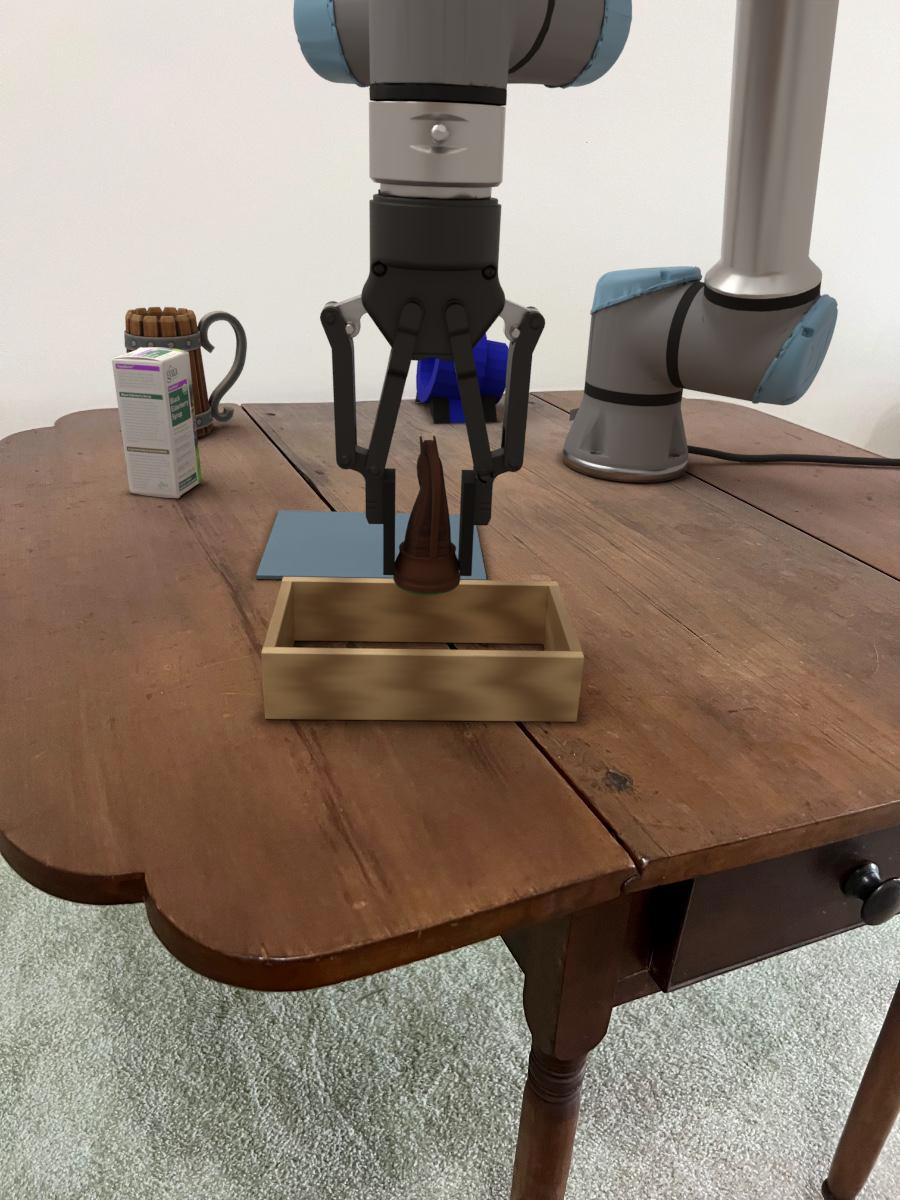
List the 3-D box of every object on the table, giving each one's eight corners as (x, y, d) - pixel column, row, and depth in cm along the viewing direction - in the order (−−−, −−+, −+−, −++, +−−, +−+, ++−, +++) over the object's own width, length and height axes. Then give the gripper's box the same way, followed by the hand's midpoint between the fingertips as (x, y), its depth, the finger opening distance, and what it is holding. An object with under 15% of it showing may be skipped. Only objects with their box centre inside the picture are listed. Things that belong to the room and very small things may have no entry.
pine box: (551, 639, 72) (557, 581, 69) (576, 722, 61) (584, 656, 59) (285, 635, 70) (282, 576, 68) (264, 719, 60) (260, 652, 58)
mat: (474, 518, 95) (474, 514, 95) (486, 583, 80) (486, 579, 80) (278, 513, 94) (278, 510, 93) (256, 579, 79) (255, 575, 79)
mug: (137, 446, 112) (123, 320, 106) (121, 425, 121) (108, 306, 114) (261, 435, 119) (255, 315, 112) (238, 415, 127) (232, 302, 121)
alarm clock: (410, 402, 138) (413, 298, 131) (489, 400, 141) (495, 298, 134) (428, 423, 127) (432, 311, 121) (513, 421, 130) (521, 312, 124)
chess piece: (452, 565, 65) (457, 428, 61) (468, 596, 61) (475, 451, 57) (388, 569, 65) (388, 430, 60) (400, 601, 60) (401, 454, 56)
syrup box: (178, 499, 96) (165, 359, 90) (127, 494, 97) (110, 354, 91) (202, 483, 101) (191, 349, 95) (153, 477, 102) (139, 344, 96)
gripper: (271, 189, 48) (291, 590, 58) (601, 200, 49) (563, 592, 59) (287, 183, 55) (302, 543, 65) (577, 193, 56) (547, 547, 66)
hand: (427, 566), depth 62 cm, fingers closed on chess piece, 4 cm apart
